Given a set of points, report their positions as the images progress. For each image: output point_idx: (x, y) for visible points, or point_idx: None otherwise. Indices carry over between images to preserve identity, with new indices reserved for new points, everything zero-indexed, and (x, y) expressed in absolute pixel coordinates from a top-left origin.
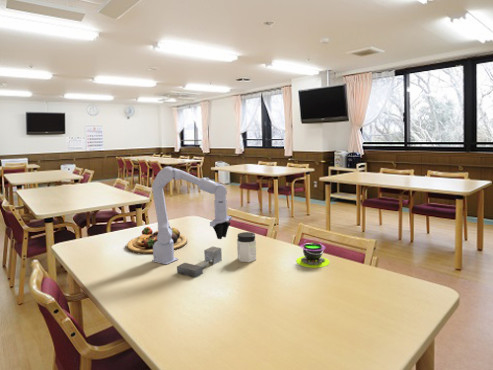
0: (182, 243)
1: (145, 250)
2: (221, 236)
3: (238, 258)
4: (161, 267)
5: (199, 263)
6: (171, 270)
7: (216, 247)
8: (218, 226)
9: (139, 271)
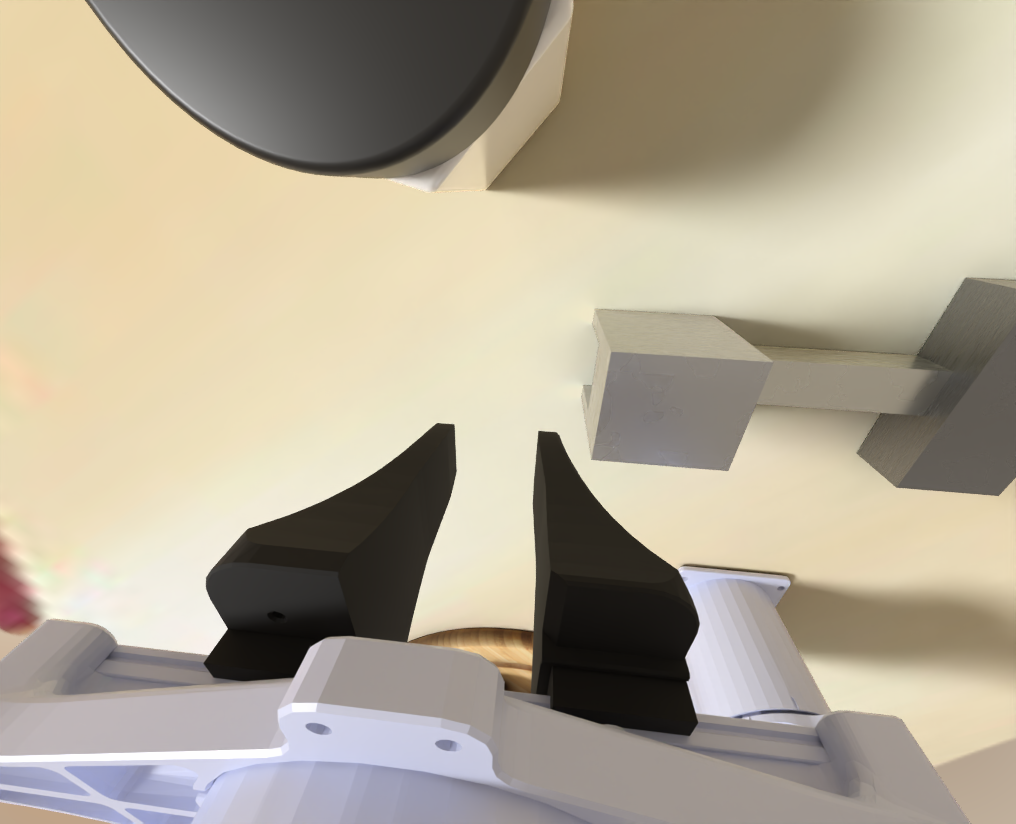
0: (468, 650)
1: None
2: (555, 448)
3: (515, 153)
4: (834, 575)
5: (839, 395)
6: (887, 511)
7: (607, 410)
8: (690, 639)
9: (911, 626)
